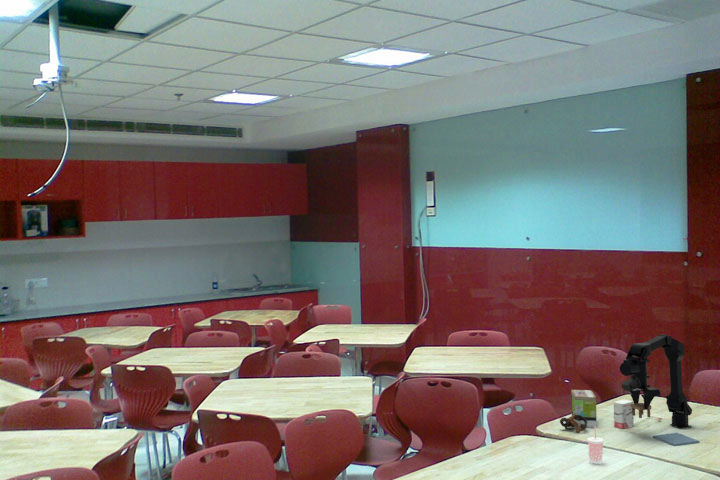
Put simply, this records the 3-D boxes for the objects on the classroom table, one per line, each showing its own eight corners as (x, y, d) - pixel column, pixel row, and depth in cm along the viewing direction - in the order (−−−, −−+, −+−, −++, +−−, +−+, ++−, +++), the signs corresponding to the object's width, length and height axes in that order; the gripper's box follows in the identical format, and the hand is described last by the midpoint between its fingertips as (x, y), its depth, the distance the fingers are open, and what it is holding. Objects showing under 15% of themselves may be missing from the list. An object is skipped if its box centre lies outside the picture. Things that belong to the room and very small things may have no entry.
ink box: (622, 429, 304) (622, 403, 304) (613, 427, 308) (612, 401, 308) (634, 426, 309) (633, 401, 309) (625, 423, 313) (624, 399, 313)
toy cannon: (579, 427, 310) (586, 414, 307) (584, 442, 302) (591, 428, 298) (555, 422, 310) (561, 408, 306) (559, 436, 301) (566, 422, 298)
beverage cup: (591, 458, 265) (590, 423, 265) (606, 461, 262) (605, 426, 262) (585, 462, 261) (584, 427, 261) (601, 465, 257) (600, 429, 257)
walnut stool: (642, 413, 295) (641, 402, 295) (651, 417, 290) (651, 405, 290) (630, 415, 294) (630, 403, 294) (640, 418, 288) (639, 407, 288)
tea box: (597, 428, 307) (596, 396, 307) (574, 427, 309) (574, 396, 309) (592, 419, 321) (591, 389, 321) (571, 419, 323) (570, 388, 323)
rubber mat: (677, 434, 294) (676, 432, 294) (699, 442, 282) (699, 440, 282) (652, 437, 291) (652, 435, 291) (674, 446, 278) (674, 444, 278)
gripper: (611, 370, 298) (612, 404, 298) (639, 378, 281) (640, 415, 281) (631, 368, 302) (632, 402, 302) (661, 376, 284) (662, 412, 284)
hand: (641, 408), depth 292 cm, fingers closed on walnut stool, 6 cm apart
